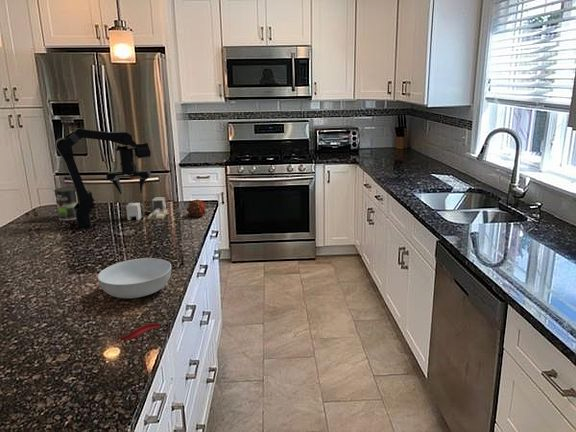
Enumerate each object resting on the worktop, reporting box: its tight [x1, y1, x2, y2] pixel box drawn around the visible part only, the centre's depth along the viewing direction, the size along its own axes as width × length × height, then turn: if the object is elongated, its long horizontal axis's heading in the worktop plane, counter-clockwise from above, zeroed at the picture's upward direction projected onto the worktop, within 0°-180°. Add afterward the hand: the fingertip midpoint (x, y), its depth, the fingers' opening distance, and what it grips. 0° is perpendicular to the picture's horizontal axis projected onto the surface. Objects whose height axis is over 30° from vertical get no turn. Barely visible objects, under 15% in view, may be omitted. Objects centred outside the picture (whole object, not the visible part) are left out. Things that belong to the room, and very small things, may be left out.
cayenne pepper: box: [117, 322, 164, 341], centre depth 116 cm, size 12×5×2 cm, turn 115°
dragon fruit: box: [186, 199, 207, 218], centre depth 221 cm, size 8×8×12 cm
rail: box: [146, 196, 169, 221], centre depth 223 cm, size 16×7×7 cm, turn 5°
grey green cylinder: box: [53, 186, 78, 221], centre depth 223 cm, size 10×10×14 cm
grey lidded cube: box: [125, 202, 142, 221], centre depth 219 cm, size 6×5×7 cm
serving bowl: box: [97, 257, 172, 299], centre depth 139 cm, size 21×21×7 cm
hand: (131, 193), depth 217 cm, fingers open, 9 cm apart
